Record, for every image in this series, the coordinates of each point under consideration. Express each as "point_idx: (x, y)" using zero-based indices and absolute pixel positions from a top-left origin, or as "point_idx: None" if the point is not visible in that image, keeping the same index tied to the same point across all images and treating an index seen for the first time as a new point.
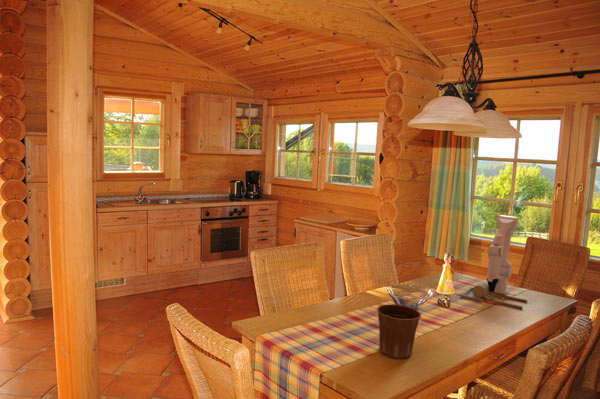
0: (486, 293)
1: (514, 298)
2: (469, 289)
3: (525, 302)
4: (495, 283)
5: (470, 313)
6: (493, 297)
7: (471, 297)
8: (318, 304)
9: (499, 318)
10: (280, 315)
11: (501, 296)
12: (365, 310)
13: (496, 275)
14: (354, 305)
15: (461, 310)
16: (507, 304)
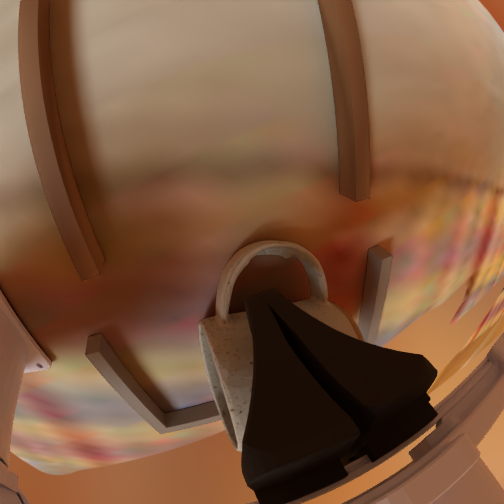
0: (314, 311)
1: (47, 103)
2: (219, 416)
3: (48, 7)
4: (396, 355)
5: (495, 199)
6: (266, 247)
7: (380, 316)
8: (478, 352)
9: (494, 95)
10: (501, 329)
11: (92, 241)
12: (492, 320)
13: (484, 467)
14: (478, 342)
15: (484, 235)
16: (357, 68)
